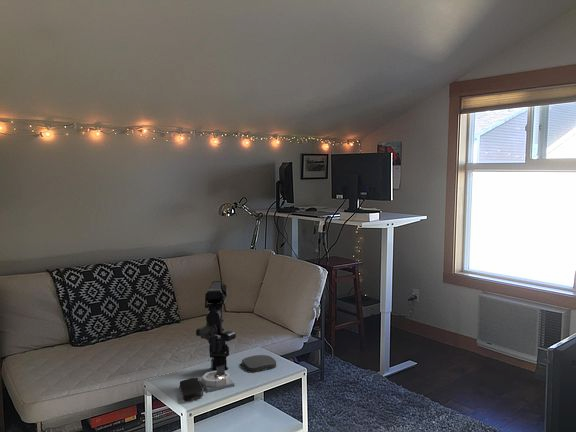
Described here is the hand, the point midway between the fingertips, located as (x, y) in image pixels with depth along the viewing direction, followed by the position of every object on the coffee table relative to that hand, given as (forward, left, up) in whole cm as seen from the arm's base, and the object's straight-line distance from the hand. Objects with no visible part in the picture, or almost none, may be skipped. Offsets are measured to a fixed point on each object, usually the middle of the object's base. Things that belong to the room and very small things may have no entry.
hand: (216, 352), depth 224 cm
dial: (+1, +3, -12) cm, 12 cm away
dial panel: (+1, +3, -13) cm, 13 cm away
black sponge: (+14, +6, -14) cm, 20 cm away
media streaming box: (-24, -7, -14) cm, 29 cm away
